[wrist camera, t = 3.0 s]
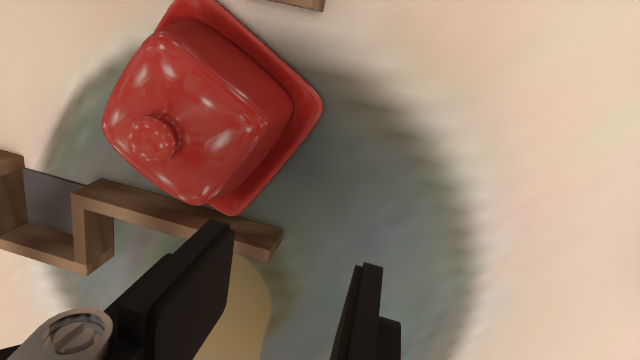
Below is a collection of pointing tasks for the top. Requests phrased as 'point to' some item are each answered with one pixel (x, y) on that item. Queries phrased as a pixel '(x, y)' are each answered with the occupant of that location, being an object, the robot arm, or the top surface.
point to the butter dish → (208, 109)
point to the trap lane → (104, 214)
